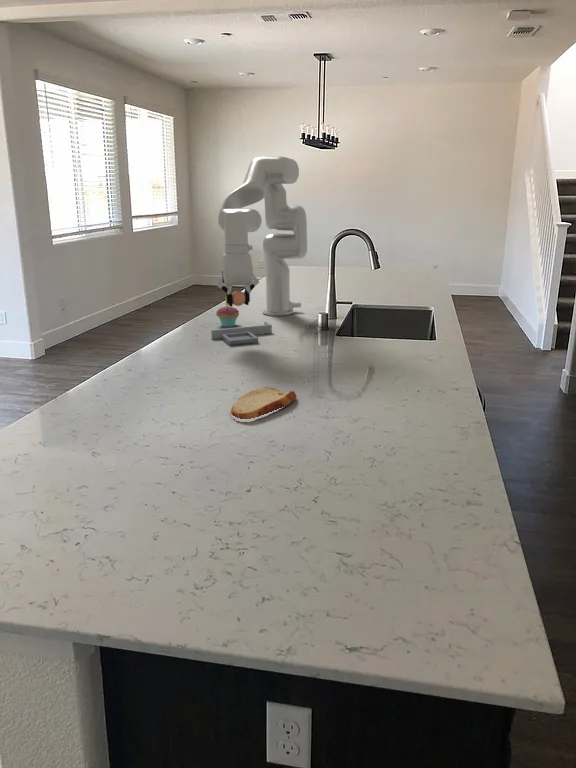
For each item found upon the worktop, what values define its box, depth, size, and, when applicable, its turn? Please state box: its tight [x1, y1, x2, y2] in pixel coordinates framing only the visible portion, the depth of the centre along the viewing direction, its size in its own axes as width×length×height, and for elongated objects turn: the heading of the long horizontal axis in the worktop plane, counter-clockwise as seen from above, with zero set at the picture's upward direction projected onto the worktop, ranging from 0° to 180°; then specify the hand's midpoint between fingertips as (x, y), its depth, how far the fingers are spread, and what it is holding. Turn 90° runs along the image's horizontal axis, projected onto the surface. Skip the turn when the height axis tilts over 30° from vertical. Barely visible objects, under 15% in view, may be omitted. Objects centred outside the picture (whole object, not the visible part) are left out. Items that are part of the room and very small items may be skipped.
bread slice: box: [230, 386, 297, 419], centre depth 156 cm, size 18×18×4 cm
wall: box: [210, 321, 273, 340], centre depth 228 cm, size 22×6×3 cm, turn 111°
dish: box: [221, 331, 259, 347], centre depth 218 cm, size 10×10×2 cm
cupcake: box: [215, 296, 240, 328], centre depth 240 cm, size 9×8×12 cm
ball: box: [231, 290, 246, 307], centre depth 214 cm, size 5×5×5 cm
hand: (238, 304), depth 214 cm, fingers closed on ball, 4 cm apart
